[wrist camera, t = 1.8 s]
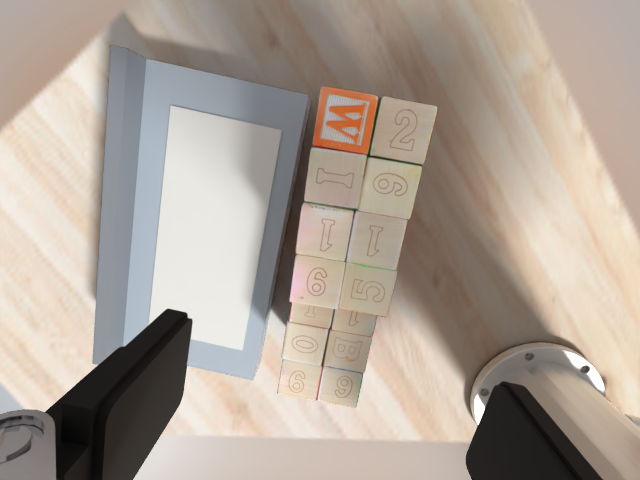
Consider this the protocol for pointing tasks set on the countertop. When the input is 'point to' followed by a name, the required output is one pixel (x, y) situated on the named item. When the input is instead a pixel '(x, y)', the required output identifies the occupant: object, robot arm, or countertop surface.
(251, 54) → the countertop surface
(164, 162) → the tray
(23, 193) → the countertop surface
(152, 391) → the robot arm
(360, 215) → the stack of blocks
